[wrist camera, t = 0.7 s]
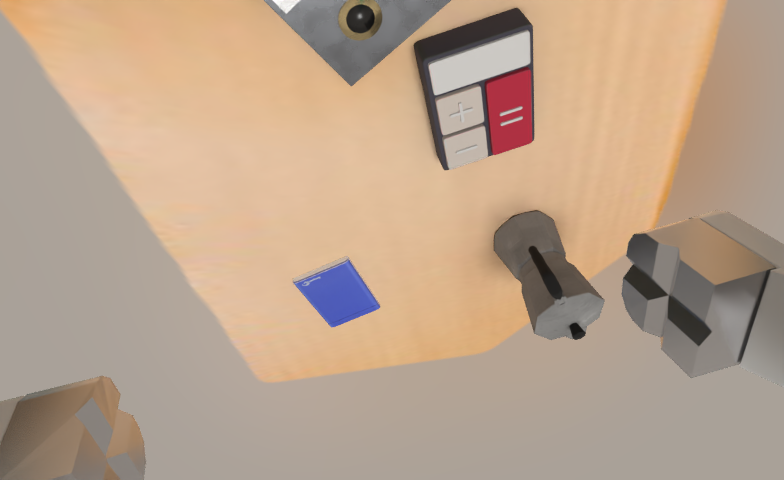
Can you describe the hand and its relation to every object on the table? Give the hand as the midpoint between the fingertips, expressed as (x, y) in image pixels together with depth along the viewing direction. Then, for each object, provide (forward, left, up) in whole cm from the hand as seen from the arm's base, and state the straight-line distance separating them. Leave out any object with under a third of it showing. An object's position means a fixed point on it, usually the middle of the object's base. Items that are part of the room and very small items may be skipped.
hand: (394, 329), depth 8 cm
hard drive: (+31, +44, -45) cm, 70 cm away
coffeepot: (+6, +55, -45) cm, 71 cm away
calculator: (-1, +31, -45) cm, 54 cm away
